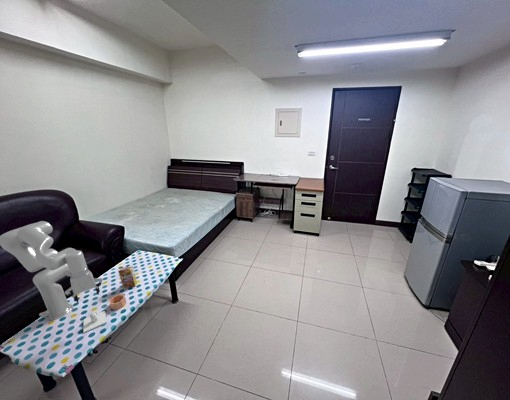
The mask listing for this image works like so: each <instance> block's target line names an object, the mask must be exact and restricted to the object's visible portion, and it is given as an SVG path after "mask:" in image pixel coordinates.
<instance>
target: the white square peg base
mask: <svg viewBox="0 0 510 400" xmlns="http://www.w3.org/2000/svg"><path fill="white" fill-rule="evenodd" d="M105 323H106V324H107V323H108V322H107V314H106V310H102V311H101V312H98V313H96V311H94V312H91V313H90V314H89V317H88V316H87V317H86V318H84V319H83V334H86V333H85V332H87V331H89V332H91V331H93V330H95V329H94V328H96V327H98V328H100V327H102V326H104V325H103V324H105ZM106 324H105V325H106ZM101 325H102V326H101ZM99 326H100V327H99ZM92 329H93V330H92ZM96 329H97V328H96ZM90 330H91V331H90ZM87 333H88V332H87Z"/></svg>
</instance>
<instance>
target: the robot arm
mask: <svg viewBox="0 0 510 400" xmlns="http://www.w3.org/2000/svg"><path fill="white" fill-rule="evenodd" d="M53 230H54V229H53V225H51V224H50V222H48V221H44V220H40V221H38V222H33V223H29V224H27V225H24V226H22V227H21V226H20V227H18V228H15V229H12V230H9V231H7V232H4V233H3V234H1V235H0V247H1V248H2V249H4V251H6V252H7V253H9V254H11V255H12V256H14V257H15V258H16V260H17V261H18V262H19V263H20V264H21V265H22V266H23V268H24V269H26V271H28V272H29V273H35V272H37V271H39V272H37V273H36V274H35V275H34V276H33V278H32V283H33V284H34V285H35V287H36V288H37V289H38V291H39V292H40V295H41V297H42V300H43V302H44V305H45V307H46V309H47V310H45V311H43V312H40V313H39V314H38V315H39V317H41V318H45V317H46V319H47V320H48V321H54V320H57V319H61V318H63V317H64V316H66V315H68V314H69V313H70V312H71V311H72V310H73V308H74V307H73V304H72V303H69V302H68V300H67V296H68V297H71V298H72V299H73V300H74V302H75V303H79V297H78V295H79V294H82V293H83V292H84V293H85V292H87V291H89V290H92V289H94V288H95V291H96V295H99V294H100V293H101V291H100V286H101V285H102V283H103V278H98V277H97V278H96V277H95V278H94V275H93V273H92V272H91V271H90V269H89V267H88V265H87V261H86V258H85V257H84V253H83V251H82V250H77V249H75V248H72V247H67V248H65V249H62V250H61V251H57V250H56V249H54V248H51V247H52V245H53V243H54V239H53V237H52V236H50V235H49V234H51V233H52V232H53ZM44 268H45V269H44ZM42 269H43V270H42ZM40 270H41V271H40ZM65 276H67V277H70V279H69V280H70V281H69V282H70V285H71V286H70V287H69V288H67V289H66V290H65V291H64V289H63V287H62V285H61V284H59V283H56V282H57V281H59V280H60V279H63V278H64V277H65ZM96 282H98V283H96Z"/></svg>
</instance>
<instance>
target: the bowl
mask: <svg viewBox="0 0 510 400" xmlns="http://www.w3.org/2000/svg"><path fill="white" fill-rule="evenodd" d="M108 302H109V305H110V308H111V310H112V311H113V310H114V311H115V310H119V309H121V308H123V307H125V305H126V303H127V300H126V296H125V294H120V293H119V294H116V295H114V296H112V298H110V299H109V301H108Z"/></svg>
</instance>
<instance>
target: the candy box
mask: <svg viewBox="0 0 510 400" xmlns="http://www.w3.org/2000/svg"><path fill="white" fill-rule="evenodd" d="M118 274H119V279H120V281H121V285H122V288H123V289H124V288H132V287H136V286H137V285H138V280H137V277H136V276H137V275H136V273H135V268H134V266H126V267H120V268H119V269H118Z"/></svg>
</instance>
